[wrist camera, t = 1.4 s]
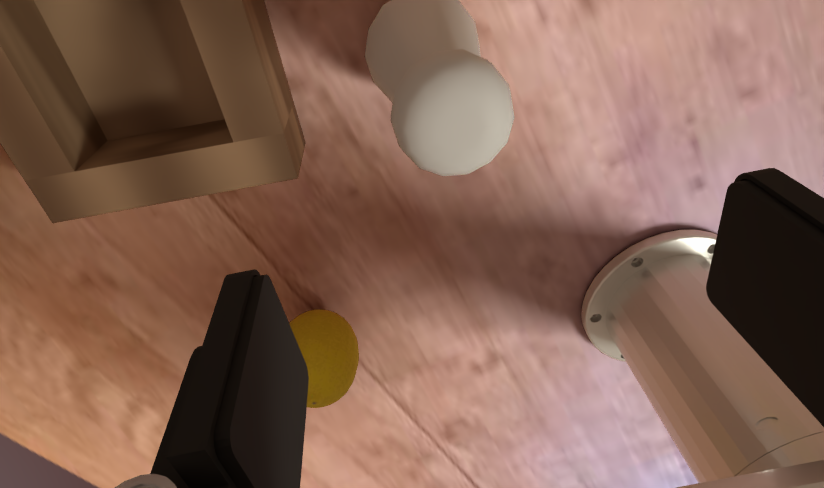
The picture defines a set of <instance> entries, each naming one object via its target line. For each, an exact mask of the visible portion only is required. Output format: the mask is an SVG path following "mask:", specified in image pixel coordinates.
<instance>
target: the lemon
mask: <svg viewBox="0 0 824 488" xmlns="http://www.w3.org/2000/svg"><path fill="white" fill-rule="evenodd" d="M289 324H290V327H291V329H292V331H293V334H294V336H295V338H296V341H297V343H298V346H299V348H300V350H301V353H302V355H303V358H304V360H305V362H306V365H307V369H308V376H309V383H308V395H307V407H310V408H319V407H324V406H328V405H330V404H332V403H334V402H336V401H338V400H339V399H340V398H341V397H342V396H344V395H345V393H346V392H347V391H348V389H349V388H350V386H351V384H352V382H353V380H354V377H355V374H356V370H357V366H358V360H359V351H358V342H357V338H356V336H355V333H354V331H353V329H352V327H351V326H350V324H349V323H348V322H347V321H346V320H345V319H344V318H343V317H341V316H340V315H338V314H337V313H334V312H332V311H329V310H323V309H320V310H311V311H307V312H305V313H303V314H300V315H299V316H297V317H296V318H295V319H293V320H292V321H291V322H290V323H289Z"/></svg>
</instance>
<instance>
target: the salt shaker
mask: <svg viewBox="0 0 824 488" xmlns="http://www.w3.org/2000/svg"><path fill="white" fill-rule="evenodd" d="M365 59H366V62H367V65H368V68H369V71H370V74H371V77H372V80H373V82H374V83H375V84H376V85H377V86H378V87H379V88H380V90H381V91H382V92H383V93H384V94H385V95H386V96H387V97H388V98H389V99H390V100H391V102H392V103H393V105H392V111H391V123H392V126H393V129H394V132H395V135H396V138H397V141H398V144H399V146H400V147H401V149H402V150H403V151H404V152H405V153H406V155H407V156H408V157H409V158H410V159H411V160H412V161H413V162H414V163H415V164H416V165H417V166H418V167H419V168H420V169H423V170H426V171H429V172H432V173H435V174H438V175H441V176H452V175H466V174H469V173H471V172H473V171H475V170H477V169H479V168H481V167H482V166H484V165H486V164H488V163H490V162H491V161H492V160H493V159H494V157H495V156H496V155H497V154H498V153H499V152H500V150H501V149H502V148H503V147H504V146H505V145H506V143H507V142H508V138H509V135H510V131H511V128H512V124H513V121H514V112H513V105H512V99H511V93H510V88H509V84H508V83H507V82H506V81H505V79H504V78H503V77H502V76H501V74H500V73H499V72H498V71H497V69H496V68H495V67H494V66H493V64H492V63H491V62H489V61H488V60H486V59H484V58H482V57H480V47H479V41H478V35H477V30H476V24H475V21H474V20H473V18H472V17H471V16H470V14H469V13H468V12H467V11H466V9H465V8H464V7H463V5H462V4H461V3H460V2H459V0H391V1H389V2H387V3H386V4H384V5H383V6H382V7H381V9H380V11H379V13H378V14H377V16H376V18H375V19H374V21H373V23H372V24H371V26H370V28H369V29H368V36H367V43H366V51H365Z"/></svg>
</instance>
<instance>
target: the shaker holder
mask: <svg viewBox="0 0 824 488" xmlns="http://www.w3.org/2000/svg"><path fill="white" fill-rule="evenodd" d="M0 143H1V145H2V147H3V148H4V150H5V151H6V153H7V154H8V156H9V157H10V159H11V160H12V162H13V163H14V165H15V166H16V168H17V169H18V171H19V172H20V174H21V176H22V177H23V179H24V180H25V182H26V183H27V185H28V186H29V188H30V189H31V191H32V192H33V194H34V195H35V197H36V198H37V200H38V201H39V203H40V205H41V206H42V208H43V209H44V211H45V212H46V214H47V215H48V217H49V218H50V220H51V221H52V223H57V222H62V221H68V220H73V219H79V218H84V217H89V216H95V215H100V214H106V213H111V212H117V211H122V210H128V209H133V208H139V207H144V206H150V205H155V204H161V203H166V202H172V201H177V200H183V199H188V198H193V197H199V196H204V195H210V194H215V193H221V192H226V191H232V190H237V189H243V188H248V187H254V186H259V185H265V184H270V183H276V182H281V181H287V180H292V179H297V178H298V175H299V170H300V166H301V161H302V156H303V152H304V147H305V140H304V136H303V133H302V130H301V126H300V123H299V119H298V116H297V112H296V109H295V106H294V102H293V99H292V95H291V92H290V88H289V85H288V82H287V78H286V75H285V71H284V68H283V64H282V61H281V58H280V54H279V51H278V47H277V44H276V40H275V37H274V34H273V30H272V27H271V23H270V20H269V16H268V13H267V10H266V6H265V3H264V0H0Z"/></svg>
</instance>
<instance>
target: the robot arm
mask: <svg viewBox="0 0 824 488" xmlns="http://www.w3.org/2000/svg"><path fill="white" fill-rule="evenodd" d="M581 316H582V323H583V327H584V329H585V331H586V333H587V336H588V337H589V339H590V340H591V342H592V344H593V345H594V346H595V347H596V348H597V349H598V350H599V351H600V352H601V353H603V354H605V355H607V356H609V357H611V358H613V359H616V360H620V361H625V362H627V364H628V366H629V367H630V369H631V371H632V372H633V374H634V376H635V377H636V379H637V381H638V382H639V384H640V386H641V387H642V389H643V391H644V392H645V394H646V396H647V397H648V399H649V401H650V403H651V404H652V406H653V408H654V409H655V411H656V413H657V414H658V416H659V418H660V419H661V421H662V423H663V424H664V426H665V428H666V429H667V431H668V433H669V434H670V436H671V438H672V439H673V441H674V443H675V444H676V446H677V448H678V449H679V451H680V453H681V454H682V456H683V458H684V459H685V461H686V463H687V464H688V466H689V468H690V469H691V471H692V473H693V474H694V476H695V478H696V480H697V481H698V484H693V485H687V486H682V487H677V488H824V198H823V197H821V196H819V195H818V194H816V193H815V192H813V191H811V190H810V189H808V188H807V187H805V186H803V185H802V184H800V183H799V182H797V181H795V180H794V179H792V178H791V177H789V176H787V175H786V174H784V173H783V172H781V171H779V170H777V169H775V168H768V169H763V170H758V171H753V172H748V173H743V174H741V175H739V176H738V177H737V178H736V179H735V182H734V183H732V184H730V186H729V187H728V189H727V193H726V198H725V202H724V207H723V211H722V216H721V220H720V225H719V229H718V234H717V235H716V234H714V233H711V232H707V231H701V230H677V231H671V232H666V233H662V234H659V235H656V236H653V237H650V238H647V239H645V240H643V241H641V242H639V243H636V244H634V245H632V246H630V247H629V248H628V249H626V250H625V251H623V252H622V253H620V254H619V255H617V256H616V257H615V258H614V259H612V260H611V261H610V262H609V263H608V264H607V265H606V266H605V267H604V268H603V269H602V270H601V271H600V272H599V274H598V275H597V276H596V277H595V278H594V280H593V282H592V283H591V285H590V287H589V288H588V290H587V292H586V295H585V298H584V301H583V304H582V314H581ZM308 383H309V376H308V369H307V365H306V362H305V360H304V358H303V355H302V353H301V350H300V348H299V346H298V343H297V341H296V338H295V336H294V334H293V331H292V329H291V327H290V324H289V322H288V319H287V317H286V315H285V312H284V310H283V308H282V305H281V303H280V300H279V298H278V296H277V293H276V291H275V288H274V286H273V284H272V281H271V279H270V277H269V276H268V275H261V276H260V274H259V272H258V271H257V270H249V271H244V272H239V273H234V274H229V275H227V276H226V277H225V279H224V282H223V285H222V288H221V291H220V294H219V297H218V300H217V303H216V306H215V309H214V312H213V315H212V318H211V321H210V324H209V327H208V330H207V333H206V336H205V340H204V343H203V346H200V347H197V348H196V349H195V350H194V352H193V354H192V356H191V358H190V361H189V364H188V367H187V369H186V372H185V375H184V378H183V381H182V384H181V387H180V390H179V393H178V395H177V398H176V401H175V404H174V407H173V410H172V413H171V416H170V419H169V421H168V424H167V427H166V430H165V433H164V436H163V439H162V442H161V445H160V447H159V450H158V453H157V456H156V459H155V462H154V465H153V468H152V471H151V473H150V474H147V475H140V476H137V477H135V478H132V479H129V480H127V481H124V482H123V483H121V484H120V485H118V486H117V487H115V488H300V480H301V468H302V456H303V444H304V432H305V419H306V407H307V395H308Z"/></svg>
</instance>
